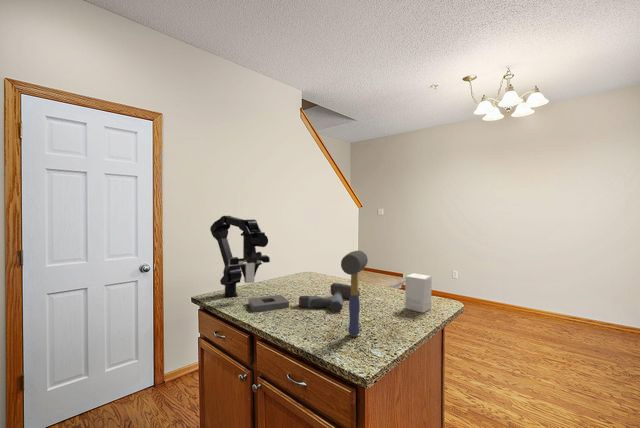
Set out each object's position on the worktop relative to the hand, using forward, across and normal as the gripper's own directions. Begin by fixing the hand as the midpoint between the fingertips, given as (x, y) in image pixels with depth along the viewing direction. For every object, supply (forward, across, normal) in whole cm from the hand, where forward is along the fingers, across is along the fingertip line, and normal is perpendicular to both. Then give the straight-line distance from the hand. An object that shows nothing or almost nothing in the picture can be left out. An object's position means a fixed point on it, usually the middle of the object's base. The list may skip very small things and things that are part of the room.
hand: (249, 277), depth 140 cm
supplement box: (+12, +69, -40) cm, 81 cm away
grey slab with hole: (+12, +7, -10) cm, 17 cm away
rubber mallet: (+12, +27, -53) cm, 61 cm away
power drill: (+12, +30, -18) cm, 37 cm away
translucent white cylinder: (+2, 0, 0) cm, 2 cm away
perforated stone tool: (+12, +46, -13) cm, 49 cm away
